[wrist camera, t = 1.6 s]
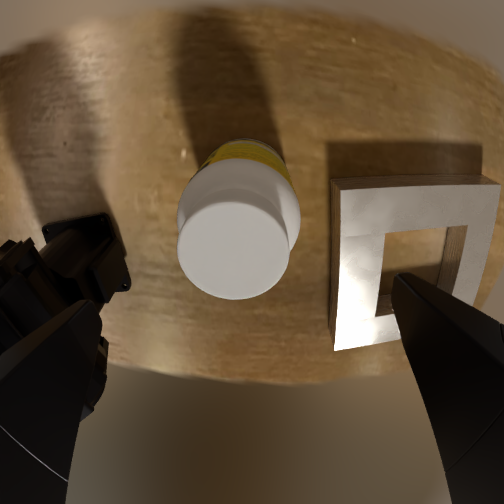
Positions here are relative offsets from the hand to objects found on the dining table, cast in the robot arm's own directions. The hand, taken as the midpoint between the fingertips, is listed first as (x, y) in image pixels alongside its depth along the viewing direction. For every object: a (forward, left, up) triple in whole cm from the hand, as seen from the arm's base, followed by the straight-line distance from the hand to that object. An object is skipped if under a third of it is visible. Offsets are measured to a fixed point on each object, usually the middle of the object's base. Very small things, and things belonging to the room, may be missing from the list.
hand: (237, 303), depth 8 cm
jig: (+12, -7, -12) cm, 19 cm away
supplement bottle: (0, 0, -13) cm, 13 cm away
